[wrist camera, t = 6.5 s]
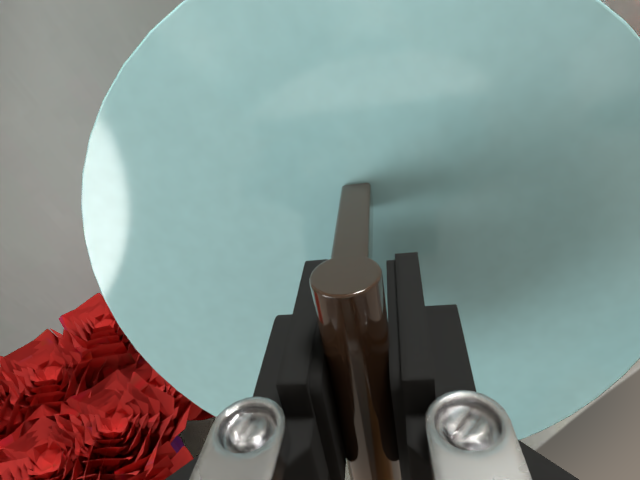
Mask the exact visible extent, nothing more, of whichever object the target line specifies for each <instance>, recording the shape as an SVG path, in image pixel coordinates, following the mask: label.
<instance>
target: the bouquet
mask: <svg viewBox="0 0 640 480" xmlns="http://www.w3.org/2000/svg"><path fill="white" fill-rule="evenodd" d="M59 320H60V322H61V324H62V326H63V327H64V329H65V330H64V331H63V335H62V334H60V333H58V332H56V331H54V330H52V329H51V330H52V331H53V332H54V333H55V334H56V336H55V335H54V334H53V333H52V332H51V331H50V330H48V329H46V330H45V331H44V332H43V333H42V334H41V335H39V336H38V337H37V338H36V339H35V340H34V341H32V342H30V343H28V344H26V345H25V346H23V347H21V348H19V349H17V350H16V351H14V352H12V353H10V354H8V355H7V356H5V357H2V356H0V366H1V367H0V480H165V479H166V478H167V477H169V476H170V475H172V474H173V473H174V472H176V471H177V470H179V469H180V468H181V467H183V466H184V465H186V464H187V463H188V462H190V461H191V460H193V459H194V458H193V457H192V455H191V454H190V452H189V451H188V449H187V448H186V447H185V446H184V444H183V442H182V439H181V437H179V436H178V434H179V433H181V432H182V431H183V430H184V429H185V427H186V423H187V420H204V419H208V418H212V417H215V416H213V415H212V414H210V413H208V412H207V411H205V410H203V409H202V408H200V407H199V406H197V405H196V404H195V403H193V402H192V401H191V400H189V399H188V398H186V397H185V396H184V395H182V394H181V393H180V392H178V391H177V390H176V389H175V388H174V387H173V386H171V385H170V384H169V383H168V382H167V381H166V380H165V379H164V378H163V377H161V376H160V375H159V374H158V373H157V372H156V371H155V370H154V369H153V368H152V367H151V366H150V364H149V363H148V362H147V361H146V360H145V359H144V358H143V357H142V356H141V354H140V353H139V352H138V351H137V350H136V349H135V347H134V346H133V345H132V343H131V342H130V340H129V339H128V338H127V336H126V335H125V333H124V332H123V331H122V329H121V328H120V327H119V325H118V323H117V321H116V320H115V318H114V316H113V314H112V312H111V311H110V309H109V307H108V305H107V303H106V302H105V300H104V298H103V296H102V295H101V294H100V293H97V294H96V295H94V296H93V297H92V298H90V299H89V300H87V301H86V302H85V303H83V304H82V305H80V306H79V307H78V308H76V309H75V310H73V311H71V312H68V313H66V314H64V315H62V316H61V317H60V318H59Z"/></svg>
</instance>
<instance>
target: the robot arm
mask: <svg viewBox="0 0 640 480" xmlns="http://www.w3.org/2000/svg"><path fill="white" fill-rule="evenodd" d="M326 260H328V259H323V260H311V261H305V264H304V268H303V272H302V276H301V281H300V285H299V289H298V293H297V297H296V302H295V306H294V310H293V314H287V315H277V316H276V318H275V320H274V323H273V326H272V330H271V334H270V337H269V341H268V344H267V348H266V351H265V355H264V358H263V362H262V365H261V369H260V372H259V376H258V379H257V383H256V386H255V390H254V393H253V397H248V398H245V399H242V400H239V401H236V402H234V403H233V404H231V405H230V406H228V407H226V408H225V409H224V410H223V411H222V412H221V413H220V414H219V415H218V416H217V418H216V420H215V421H214V423H213V425H212V427H211V429H210V431H209V434H208V436H207V438H206V441H205V443H204V446H203V448H202V450H201V453H200V454H199V455H198V456H197V457H195V458H194V459H193V460H191V461H190V462H188V463H187V464H186V465H184V466H183V467H181V468H180V469H179V470H177V471H176V472H174V473H173V474H172V475H170V476H169V477H167V478H166V479H165V480H345V467H346V455H345V450H344V446H343V441H342V436H341V431H340V426H339V422H338V417H337V412H336V407H335V403H334V398H333V393H332V388H331V383H330V379H329V374H328V369H327V364H326V360H325V355H324V351H323V346H322V341H321V336H320V332H319V327H318V322H317V317H316V313H315V308H314V303H313V298H312V294H311V289H310V284H309V279H310V276H311V273H312V271H313V270H314V269H315V268H316V267H317V266H318V265H319V264H321V263H323V262H324V261H326ZM386 267H387V305H388V327H389V336H390V347H389V375H390V388H391V397H392V405H393V413H394V421H395V429H396V437H397V445H398V453H399V462H400V470H401V478H402V480H579V479H577V478H576V477H574V476H573V475H571V474H570V473H568V472H567V471H565V470H564V469H562V468H560V467H559V466H557V465H556V464H554V463H553V462H551V461H550V460H548V459H547V458H545V457H544V456H542V455H541V454H539V453H537V452H536V451H534V450H533V449H531V448H530V447H528V446H527V445H525V444H524V443H522V442H521V441H519V440H518V439H517V436H516V434H515V431H514V428H513V425H512V423H511V420H510V418H509V416H508V414H507V413H506V411H505V409H504V408H503V407H502V406H501V405H500V404H499V403H498V402H496V401H495V400H494V399H492V398H490V397H488V396H486V395H485V394H482V393H478V392H476V387H475V383H474V378H473V374H472V370H471V365H470V361H469V356H468V352H467V347H466V343H465V339H464V334H463V330H462V325H461V321H460V316H459V312H458V308H457V305H456V304H451V305H434V306H425V303H424V296H423V288H422V281H421V273H420V266H419V258H418V252H410V253H398V254H395V260H386Z"/></svg>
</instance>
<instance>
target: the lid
mask: <svg viewBox="0 0 640 480" xmlns="http://www.w3.org/2000/svg"><path fill="white" fill-rule="evenodd" d="M81 209H82V219H83V228H84V237H85V242H86V246H87V250H88V254H89V258H90V262H91V266H92V270H93V273H94V275H95V278H96V280H97V283H98V285H99V288H100V290H101V293H102V295H103V298H104V300H105V302H106V303H107V305H108V307H109V309H110V311H111V312H112V314H113V316H114V318H115V320H116V321H117V323H118V325H119V327H120V328H121V329H122V331H123V332H124V333H125V335H126V336H127V338H128V339H129V340H130V342H131V343H132V345H133V346H134V347H135V349H136V350H137V351H138V352H139V353H140V354H141V356H142V357H143V358H144V359H145V360H146V361H147V362H148V363H149V364H150V366H151V367H152V368H153V369H154V370H155V371H156V372H157V373H158V374H159V375H160V376H161V377H163V378H164V379H165V380H166V381H167V382H168V383H169V384H170V385H171V386H173V387H174V388H175V389H176V390H177V391H178V392H180V393H181V394H182V395H184V396H185V397H186V398H188V399H189V400H191V401H192V402H193V403H195V404H196V405H197V406H199V407H200V408H202V409H203V410H205V411H207V412H208V413H210V414H212V415H213V416H215V417H217V416H218V415H219V414H220V413H221V412H222V411H223V410H224V409H225V408H226V407H228V406H230V405H231V404H233V403H234V402H236V401H239V400H242V399H245V398H248V397H253V393H254V390H255V386H256V383H257V379H258V376H259V372H260V369H261V365H262V362H263V358H264V355H265V351H266V348H267V344H268V341H269V337H270V334H271V330H272V326H273V323H274V320H275V318H276V316H277V315H287V314H293V310H294V306H295V302H296V297H297V293H298V289H299V285H300V281H301V276H302V272H303V268H304V264H305V261H311V260H323V259H328V260H326V261H324V262H323V263H321V264H319V265H318V266H317V267H316V268H315V269H314V270H313V271H312V273H311V276H310V279H309V284H310V289H311V294H312V298H313V303H314V308H315V313H316V317H317V322H318V327H319V332H320V336H321V341H322V346H323V351H324V355H325V360H326V364H327V369H328V374H329V379H330V383H331V388H332V393H333V398H334V403H335V407H336V412H337V417H338V422H339V426H340V431H341V436H342V441H343V446H344V450H345V455H346V461H347V465H348V470H349V475H350V480H402V478H401V470H400V462H399V453H398V445H397V437H396V429H395V421H394V413H393V405H392V397H391V388H390V375H389V347H390V336H389V327H388V305H387V267H386V260H395V254H398V253H410V252H418V258H419V266H420V273H421V281H422V288H423V296H424V303H425V306H434V305H451V304H456V305H457V308H458V312H459V316H460V321H461V325H462V330H463V334H464V339H465V343H466V347H467V352H468V356H469V361H470V365H471V370H472V374H473V378H474V383H475V387H476V392H478V393H482V394H485V395H486V396H488V397H490V398H492V399H494V400H495V401H496V402H498V403H499V404H500V405H501V406H502V407H503V408H504V409H505V411H506V413H507V414H508V416H509V418H510V420H511V423H512V425H513V428H514V431H515V434H516V436H517V439H518V440H521V439H524V438H526V437H528V436H531V435H533V434H536V433H538V432H540V431H543V430H545V429H546V428H548V427H550V426H552V425H554V424H556V423H558V422H560V421H562V420H563V419H565V418H567V417H569V416H571V415H572V414H574V413H575V412H577V411H578V410H580V409H581V408H583V407H584V406H586V405H587V404H589V403H590V402H592V401H593V400H595V399H596V398H598V397H599V396H600V395H601V394H602V393H604V392H605V391H606V390H607V389H608V388H609V387H611V386H612V385H613V384H614V383H615V382H617V381H618V380H619V379H620V378H621V377H623V376H624V375H625V373H626V372H627V371H628V370H629V369H630V368H631V367H632V366H633V365H634V364H635V363H636V362H637V361H638V360H639V358H640V37H639V36H638V34H637V33H636V32H635V31H634V30H633V29H632V27H631V26H630V25H629V24H628V23H627V22H626V21H625V20H624V19H623V18H621V17H620V16H619V15H618V14H617V13H615V12H614V11H613V10H612V9H610V8H609V7H608V6H607V5H606V4H604V3H603V2H602V1H601V0H184V1H182V2H181V3H180V4H179V5H178V6H177V7H176V8H175V9H174V10H173V11H171V12H170V13H169V14H168V15H167V16H166V17H165V18H164V19H163V20H162V21H160V22H159V23H158V24H157V25H156V26H155V27H154V28H153V29H152V30H151V31H149V33H148V34H147V35H146V37H145V38H144V39H143V40H142V42H141V43H140V44H139V45H138V47H137V48H136V49H135V50H134V52H133V53H132V54H131V55H130V57H129V58H128V59H127V60H126V62H125V63H124V64H123V66H122V67H121V69H120V71H119V73H118V74H117V76H116V78H115V80H114V82H113V83H112V85H111V87H110V89H109V90H108V92H107V94H106V96H105V98H104V99H103V102H102V104H101V107H100V110H99V112H98V115H97V118H96V121H95V123H94V126H93V129H92V131H91V134H90V137H89V143H88V148H87V153H86V158H85V163H84V168H83V175H82V200H81Z"/></svg>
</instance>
